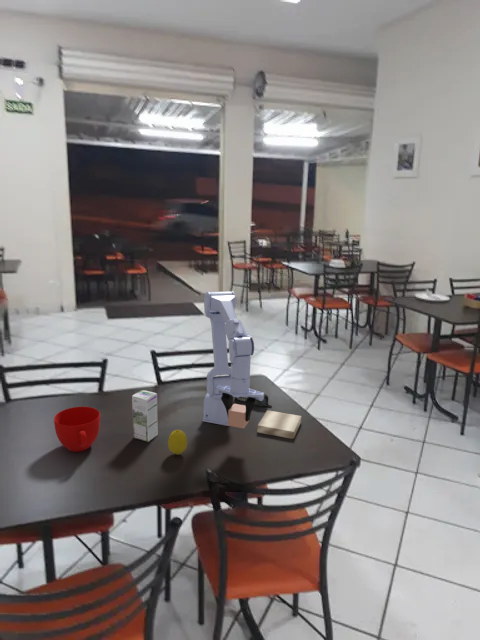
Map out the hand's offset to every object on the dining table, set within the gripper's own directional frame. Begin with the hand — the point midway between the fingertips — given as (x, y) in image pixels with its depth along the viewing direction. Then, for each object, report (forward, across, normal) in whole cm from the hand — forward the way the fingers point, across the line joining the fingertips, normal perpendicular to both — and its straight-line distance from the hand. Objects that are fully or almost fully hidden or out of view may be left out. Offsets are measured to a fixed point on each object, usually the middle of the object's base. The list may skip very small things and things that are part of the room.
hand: (238, 418), depth 144 cm
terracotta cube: (+2, 0, 0) cm, 2 cm away
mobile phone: (+10, -5, +32) cm, 34 cm away
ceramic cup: (+10, -43, -19) cm, 48 cm away
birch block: (+10, +9, +17) cm, 22 cm away
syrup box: (+10, -29, -5) cm, 31 cm away
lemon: (+10, -15, -11) cm, 21 cm away
